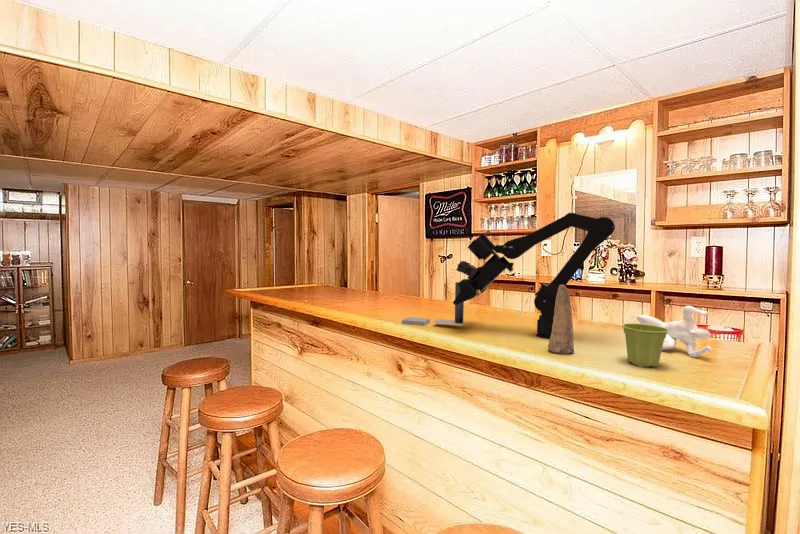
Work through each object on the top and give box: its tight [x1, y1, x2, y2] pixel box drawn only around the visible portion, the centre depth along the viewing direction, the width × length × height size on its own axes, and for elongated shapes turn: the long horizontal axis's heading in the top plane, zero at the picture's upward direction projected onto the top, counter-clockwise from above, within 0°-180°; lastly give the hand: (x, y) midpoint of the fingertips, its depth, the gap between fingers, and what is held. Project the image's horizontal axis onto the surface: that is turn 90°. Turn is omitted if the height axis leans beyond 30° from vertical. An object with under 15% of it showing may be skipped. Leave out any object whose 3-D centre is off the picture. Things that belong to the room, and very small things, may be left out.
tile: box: [401, 316, 431, 327], centre depth 136 cm, size 2×6×8 cm
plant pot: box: [621, 323, 669, 368], centre depth 93 cm, size 9×9×9 cm
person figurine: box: [636, 305, 713, 358], centre depth 106 cm, size 13×13×18 cm
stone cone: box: [547, 285, 575, 355], centre depth 101 cm, size 6×18×6 cm
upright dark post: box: [432, 281, 466, 326], centre depth 131 cm, size 10×5×14 cm, turn 67°
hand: (455, 303), depth 130 cm, fingers closed on upright dark post, 3 cm apart
